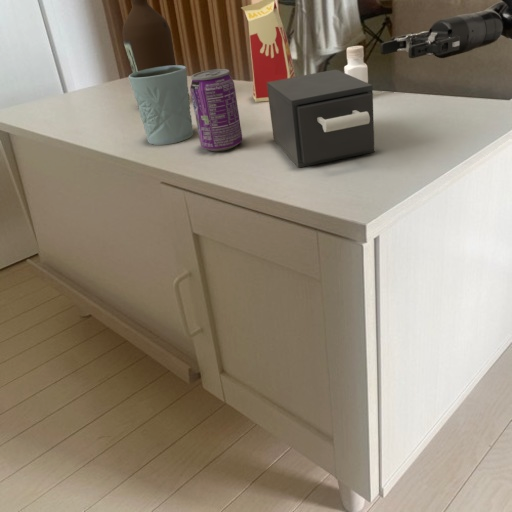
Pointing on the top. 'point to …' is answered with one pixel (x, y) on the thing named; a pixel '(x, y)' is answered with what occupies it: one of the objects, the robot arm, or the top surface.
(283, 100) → the cabinet
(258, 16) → the milk carton
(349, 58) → the pepper shaker
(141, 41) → the olive oil
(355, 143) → the drawer
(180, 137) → the embossed ceramic cup
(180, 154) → the top surface
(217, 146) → the beverage can
